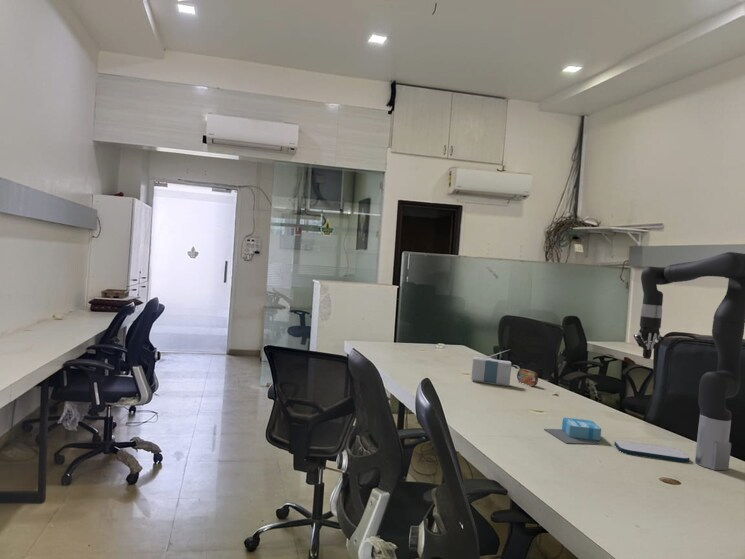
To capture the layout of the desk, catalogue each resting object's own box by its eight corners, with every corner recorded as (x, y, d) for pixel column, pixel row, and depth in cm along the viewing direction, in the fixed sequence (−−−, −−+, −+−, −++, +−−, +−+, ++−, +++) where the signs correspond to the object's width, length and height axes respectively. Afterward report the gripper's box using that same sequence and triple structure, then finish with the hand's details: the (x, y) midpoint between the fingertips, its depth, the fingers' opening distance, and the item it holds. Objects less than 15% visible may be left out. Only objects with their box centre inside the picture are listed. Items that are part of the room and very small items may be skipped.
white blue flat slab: (620, 454, 188) (620, 449, 188) (612, 444, 199) (612, 439, 199) (691, 465, 183) (692, 459, 183) (679, 454, 195) (679, 448, 195)
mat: (599, 444, 196) (599, 443, 196) (566, 443, 193) (566, 442, 193) (575, 430, 212) (575, 429, 212) (543, 429, 209) (543, 428, 209)
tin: (516, 381, 304) (517, 367, 304) (520, 381, 305) (521, 367, 305) (534, 387, 290) (535, 372, 290) (538, 387, 291) (539, 372, 291)
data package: (602, 429, 199) (570, 425, 200) (601, 441, 199) (569, 437, 200) (592, 420, 211) (561, 417, 212) (590, 431, 211) (560, 428, 212)
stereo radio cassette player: (470, 381, 291) (474, 346, 291) (472, 379, 299) (475, 344, 299) (509, 387, 285) (512, 351, 285) (509, 384, 293) (513, 349, 293)
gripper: (643, 316, 206) (638, 359, 206) (672, 318, 208) (667, 361, 209) (630, 313, 213) (626, 355, 214) (658, 316, 216) (654, 357, 216)
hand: (646, 358), depth 211 cm, fingers closed
